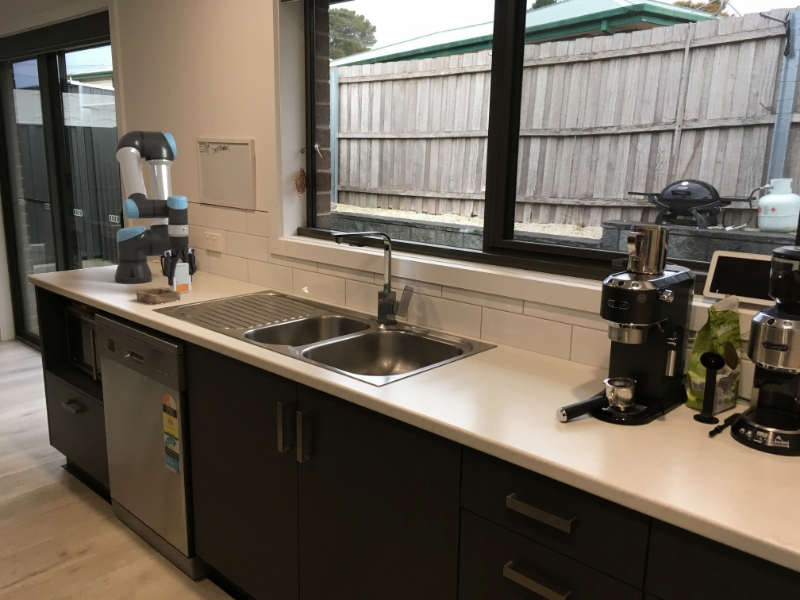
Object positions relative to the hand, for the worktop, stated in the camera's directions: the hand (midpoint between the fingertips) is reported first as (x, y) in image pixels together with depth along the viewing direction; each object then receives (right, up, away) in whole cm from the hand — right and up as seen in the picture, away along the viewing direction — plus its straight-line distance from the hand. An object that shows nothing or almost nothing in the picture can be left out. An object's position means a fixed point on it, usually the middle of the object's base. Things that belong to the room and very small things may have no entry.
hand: (180, 291), depth 258 cm
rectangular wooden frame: (-3, -3, -15) cm, 16 cm away
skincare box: (0, 0, 0) cm, 0 cm away
